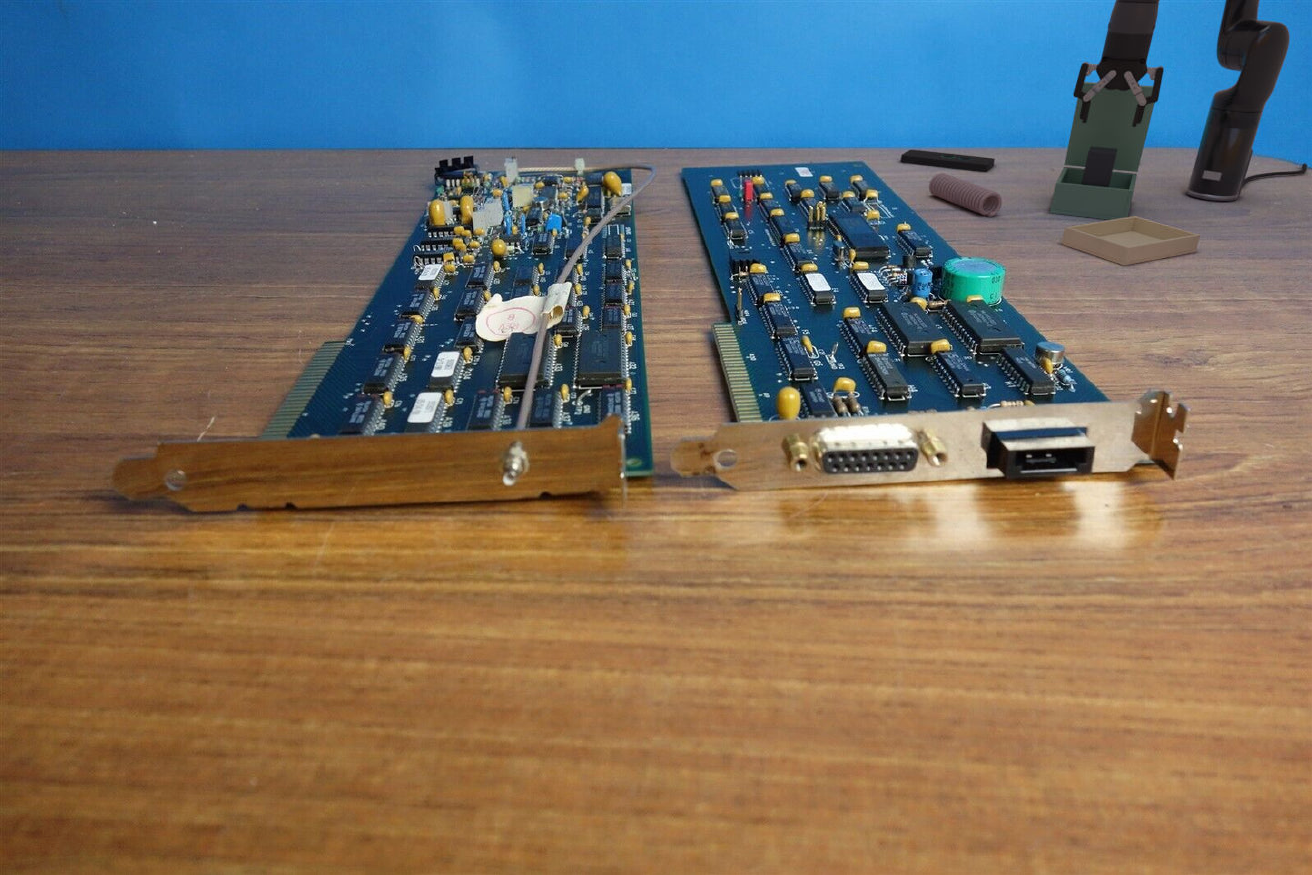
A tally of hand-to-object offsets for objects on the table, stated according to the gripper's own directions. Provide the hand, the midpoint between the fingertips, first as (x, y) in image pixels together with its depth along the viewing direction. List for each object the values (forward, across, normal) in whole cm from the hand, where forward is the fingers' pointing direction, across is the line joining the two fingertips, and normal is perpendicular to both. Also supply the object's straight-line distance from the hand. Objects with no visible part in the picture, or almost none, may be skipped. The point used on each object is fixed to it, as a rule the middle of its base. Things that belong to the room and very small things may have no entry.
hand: (1108, 124), depth 174 cm
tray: (+16, -8, +22) cm, 29 cm away
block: (+16, 0, 0) cm, 16 cm away
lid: (+2, 0, -9) cm, 10 cm away
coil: (+17, +23, +6) cm, 29 cm away
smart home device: (+17, +33, -31) cm, 48 cm away
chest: (+16, 0, -4) cm, 17 cm away
